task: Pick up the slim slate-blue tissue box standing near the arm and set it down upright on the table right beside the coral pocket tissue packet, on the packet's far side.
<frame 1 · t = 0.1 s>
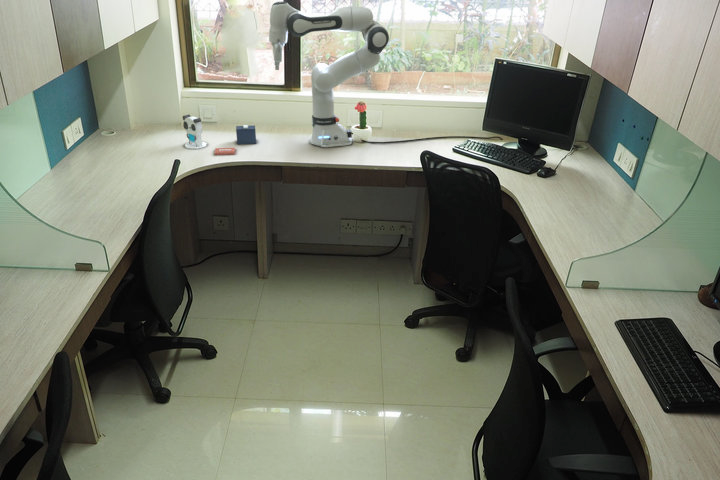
hand: (276, 67, 307), 39 cm above the table, tool pointing down, fingers open, 8 cm apart
panda figurine: (195, 145, 326), on the table
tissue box: (246, 142, 330), on the table
tissue packet: (225, 152, 316), on the table
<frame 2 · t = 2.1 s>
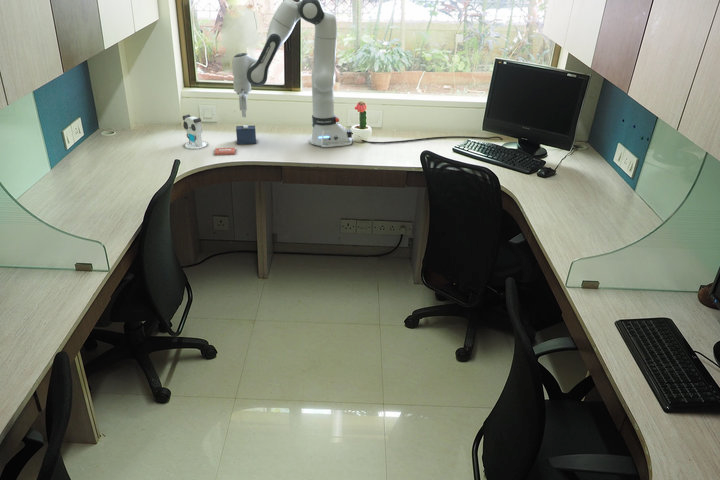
hand: (244, 114, 322), 15 cm above the table, tool pointing down, fingers open, 8 cm apart
nothing on the table moved.
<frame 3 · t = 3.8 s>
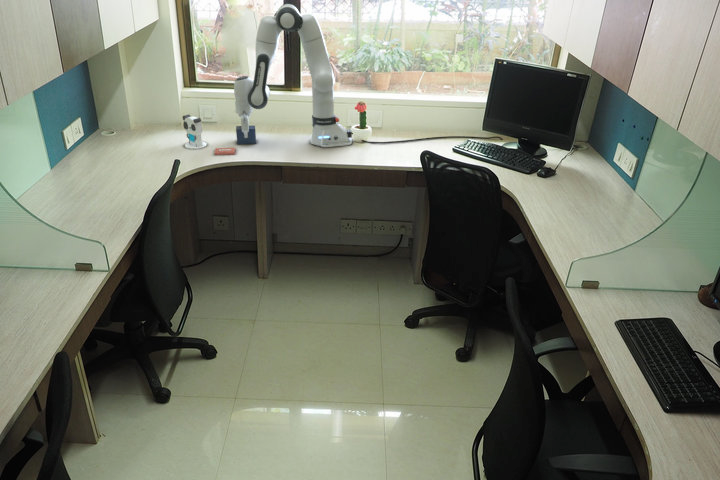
hand: (246, 135, 328), 4 cm above the table, tool pointing down, fingers closed on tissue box, 6 cm apart
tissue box: (246, 142, 330), on the table, touching gripper
everything else where it was.
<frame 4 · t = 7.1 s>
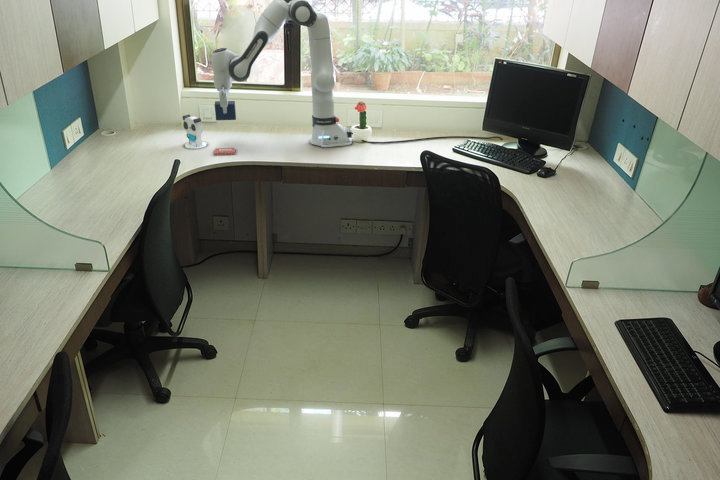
hand: (225, 111, 314), 18 cm above the table, tool pointing down, fingers closed on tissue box, 6 cm apart
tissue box: (226, 118, 317), point 15 cm above the table, touching gripper
everything else where it was.
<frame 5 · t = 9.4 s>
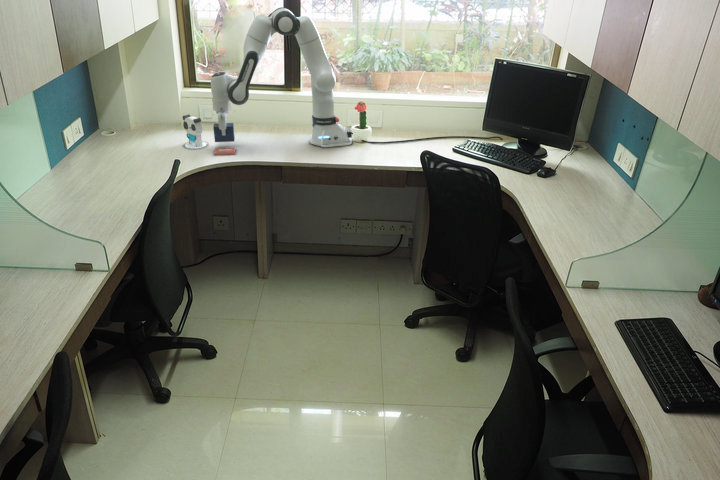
hand: (224, 132, 319), 7 cm above the table, tool pointing down, fingers closed on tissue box, 6 cm apart
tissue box: (224, 140, 321), point 4 cm above the table, touching gripper
everything else where it was.
when the fingers open (4 cm above the table, at t = 10.9 s): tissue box stays where it is, on the table.
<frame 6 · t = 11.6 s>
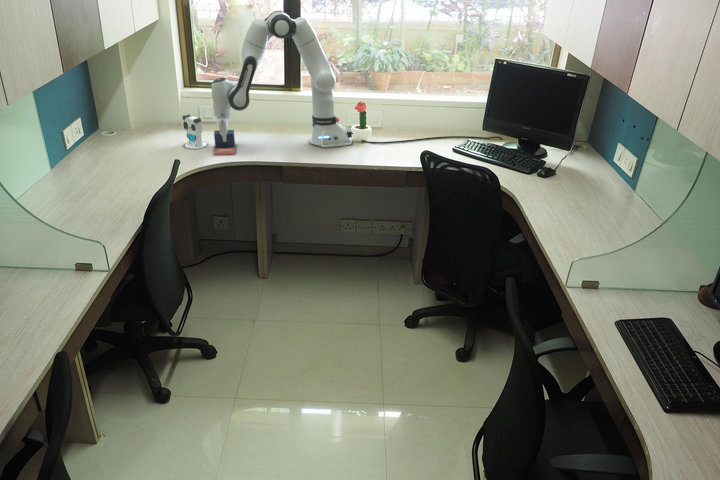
hand: (225, 138, 321), 5 cm above the table, tool pointing down, fingers open, 8 cm apart
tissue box: (225, 146, 323), on the table
everything else where it was.
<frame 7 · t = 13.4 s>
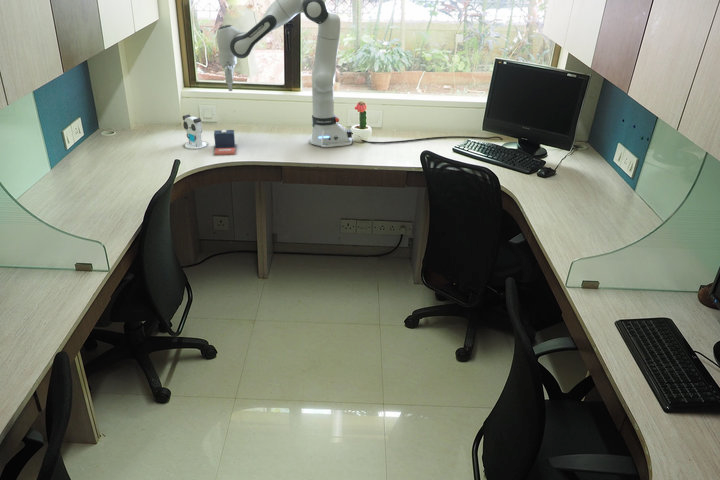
hand: (230, 88, 317), 27 cm above the table, tool pointing down, fingers open, 8 cm apart
nothing on the table moved.
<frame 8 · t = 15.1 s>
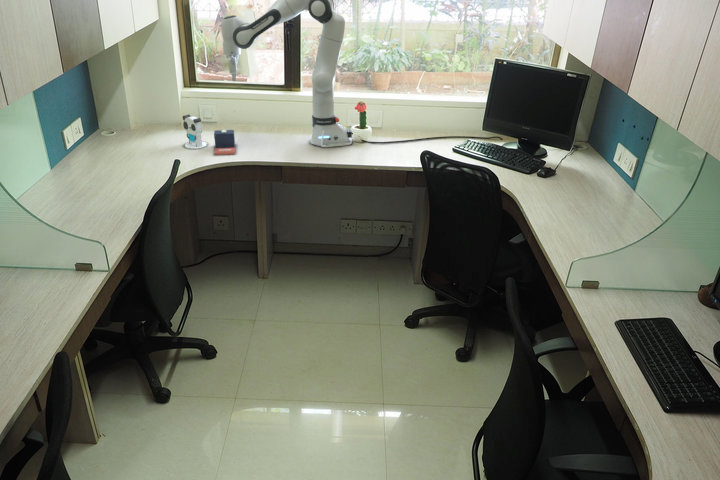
hand: (234, 78, 319), 31 cm above the table, tool pointing down, fingers open, 8 cm apart
nothing on the table moved.
at the end: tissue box 8.5 cm from the tissue packet (horizontally); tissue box tilted 0°; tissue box on the table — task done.
